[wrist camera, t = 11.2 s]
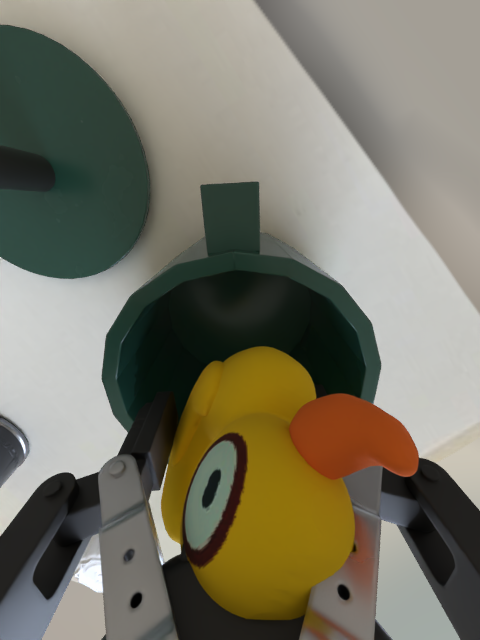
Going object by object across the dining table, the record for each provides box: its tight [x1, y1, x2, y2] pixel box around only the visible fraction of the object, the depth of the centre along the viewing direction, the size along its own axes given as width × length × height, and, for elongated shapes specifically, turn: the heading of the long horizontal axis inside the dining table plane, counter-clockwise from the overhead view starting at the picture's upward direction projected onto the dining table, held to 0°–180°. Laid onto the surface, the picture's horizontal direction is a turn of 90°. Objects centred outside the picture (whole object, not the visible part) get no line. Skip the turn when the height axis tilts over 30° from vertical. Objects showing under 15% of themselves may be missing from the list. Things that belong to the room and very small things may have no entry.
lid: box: [0, 25, 150, 279], centre depth 17 cm, size 16×16×7 cm
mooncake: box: [74, 533, 103, 592], centre depth 39 cm, size 12×12×4 cm
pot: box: [102, 182, 381, 464], centre depth 19 cm, size 15×20×12 cm
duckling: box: [161, 346, 419, 620], centre depth 10 cm, size 11×5×10 cm, turn 145°
